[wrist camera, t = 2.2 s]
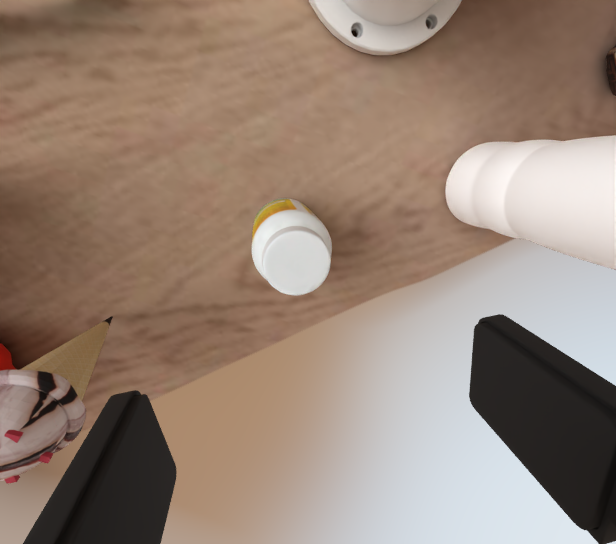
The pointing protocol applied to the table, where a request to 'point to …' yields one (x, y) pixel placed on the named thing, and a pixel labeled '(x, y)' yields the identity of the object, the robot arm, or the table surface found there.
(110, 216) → the table surface
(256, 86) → the table surface
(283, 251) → the supplement bottle
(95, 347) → the ice cream cone
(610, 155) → the water bottle
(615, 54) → the statue
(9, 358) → the tomato
